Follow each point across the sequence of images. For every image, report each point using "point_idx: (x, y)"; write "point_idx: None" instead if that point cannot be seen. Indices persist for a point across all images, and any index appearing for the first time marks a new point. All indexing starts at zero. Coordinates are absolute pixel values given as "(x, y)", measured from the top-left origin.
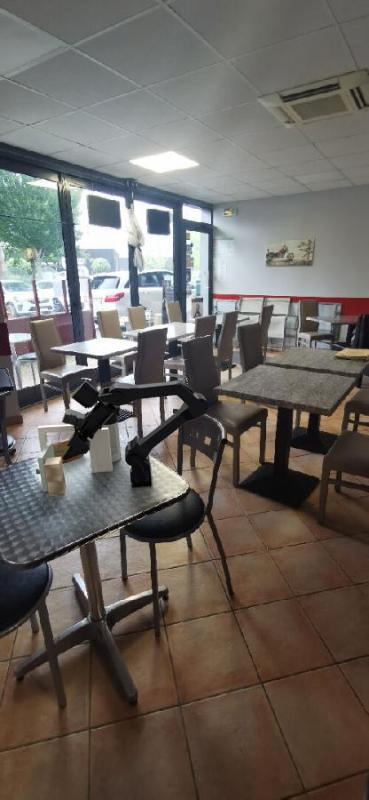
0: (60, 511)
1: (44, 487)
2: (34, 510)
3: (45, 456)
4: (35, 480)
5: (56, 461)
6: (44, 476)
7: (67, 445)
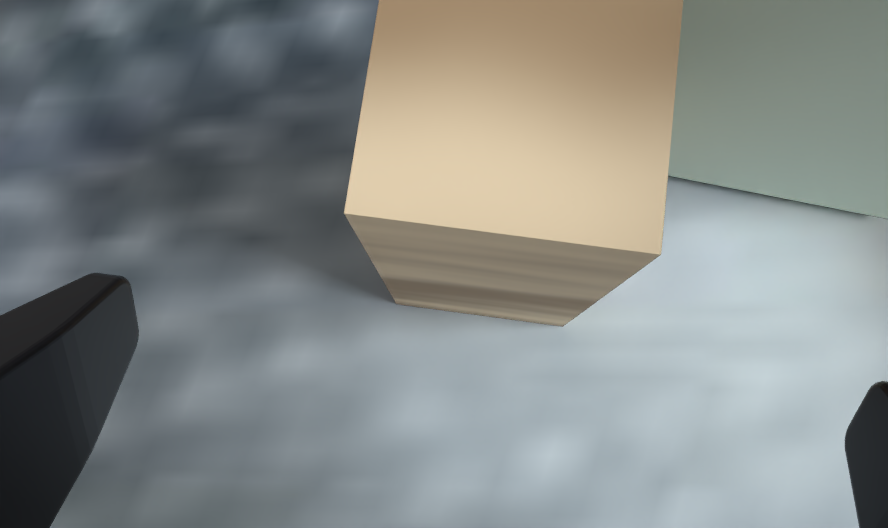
0: None
1: None
2: (205, 44)
3: None
4: None
5: (463, 163)
6: None
7: (876, 396)
